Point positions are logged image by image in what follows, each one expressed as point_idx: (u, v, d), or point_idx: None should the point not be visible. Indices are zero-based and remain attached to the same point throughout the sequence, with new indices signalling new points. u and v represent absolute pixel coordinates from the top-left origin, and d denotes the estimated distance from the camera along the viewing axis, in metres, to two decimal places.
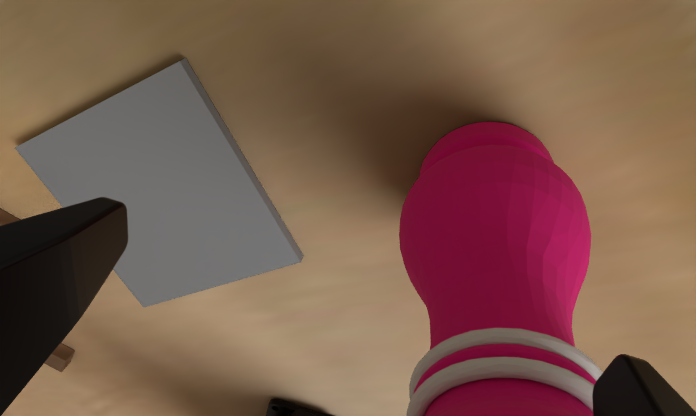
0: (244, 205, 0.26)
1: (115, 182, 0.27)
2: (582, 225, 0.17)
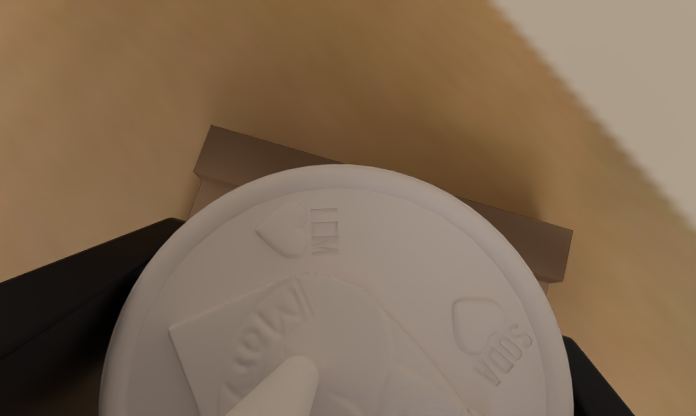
0: None
1: None
2: None
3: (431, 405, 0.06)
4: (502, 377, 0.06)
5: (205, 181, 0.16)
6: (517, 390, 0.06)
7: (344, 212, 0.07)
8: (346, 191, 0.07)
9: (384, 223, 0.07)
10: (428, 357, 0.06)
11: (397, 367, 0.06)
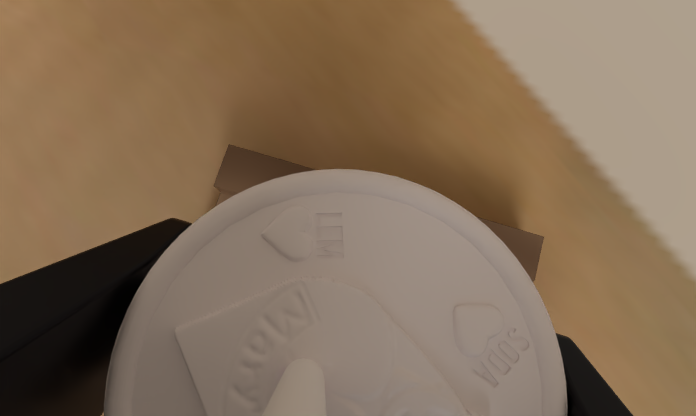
0: None
1: None
2: None
3: (433, 406, 0.06)
4: (500, 379, 0.07)
5: (223, 193, 0.18)
6: (514, 392, 0.07)
7: (349, 216, 0.07)
8: (351, 196, 0.07)
9: (388, 228, 0.07)
10: (429, 360, 0.07)
11: (400, 370, 0.06)
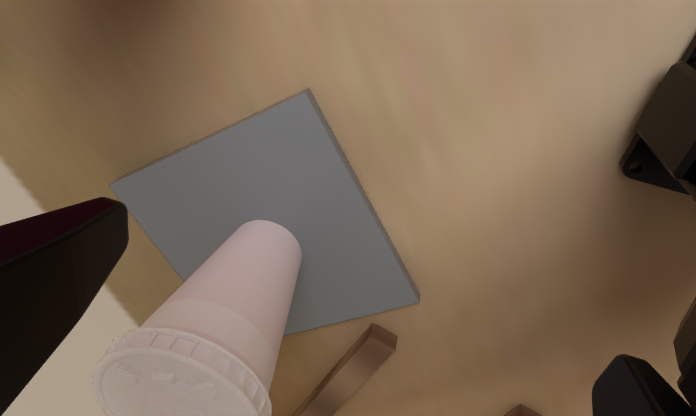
0: (239, 152, 0.22)
1: None
2: None
3: (158, 394, 0.16)
4: (138, 369, 0.16)
5: None
6: (138, 364, 0.16)
7: (122, 415, 0.18)
8: (116, 415, 0.18)
9: (119, 400, 0.17)
10: (146, 392, 0.16)
11: (154, 403, 0.16)
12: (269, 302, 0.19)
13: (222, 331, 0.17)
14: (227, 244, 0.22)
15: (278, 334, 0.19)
